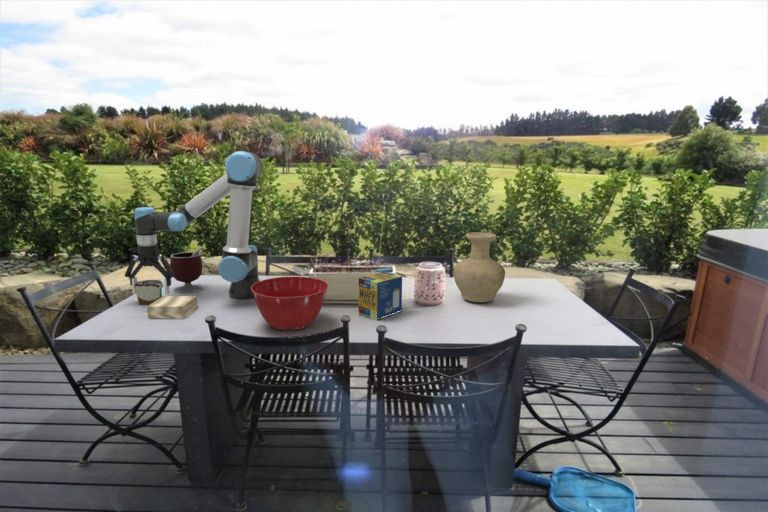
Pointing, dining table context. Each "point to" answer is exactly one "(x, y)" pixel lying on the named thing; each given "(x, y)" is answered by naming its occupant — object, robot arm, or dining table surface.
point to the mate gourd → (187, 270)
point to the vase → (479, 270)
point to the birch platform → (172, 307)
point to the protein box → (380, 294)
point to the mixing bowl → (289, 300)
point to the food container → (148, 291)
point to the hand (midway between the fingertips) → (151, 293)
